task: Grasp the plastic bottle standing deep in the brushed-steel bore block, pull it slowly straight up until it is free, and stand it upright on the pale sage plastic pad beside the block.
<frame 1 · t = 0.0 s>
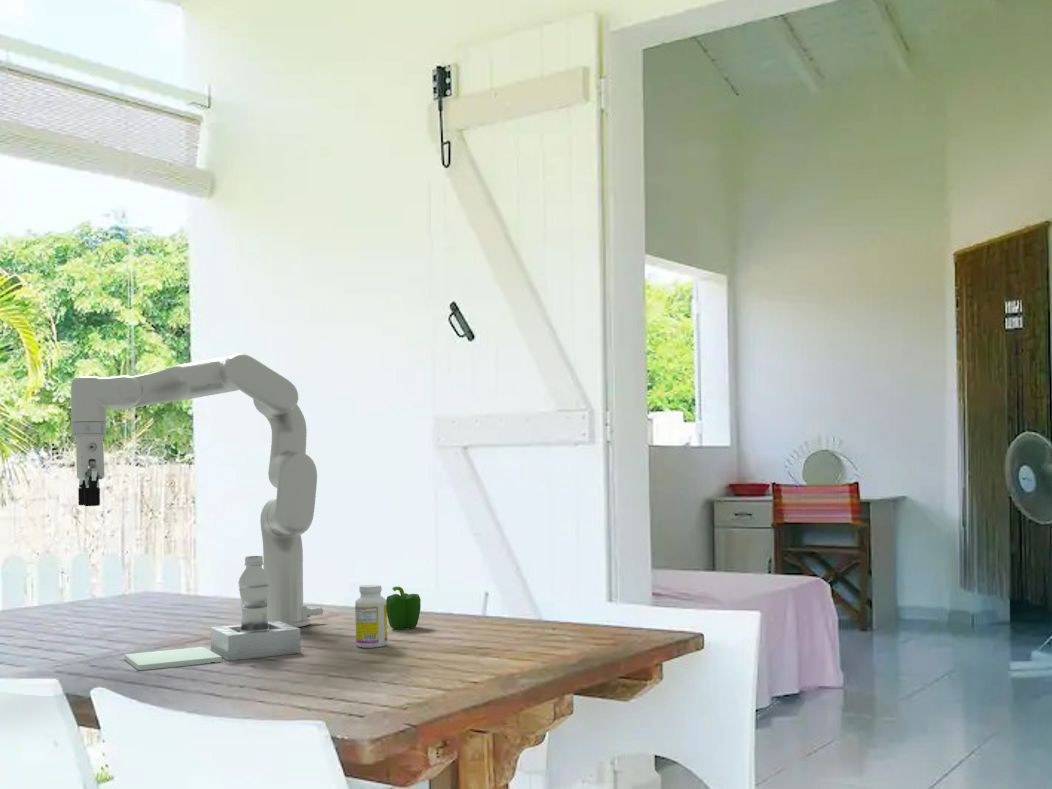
hand: (89, 505, 261), 31 cm above the table, tool pointing down, fingers open, 9 cm apart
plastic bottle: (255, 653, 241), resting in bore block
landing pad: (172, 660, 233), on the table
supplement bottle: (371, 647, 245), on the table
bore block: (255, 652, 241), on the table
bell pepper: (403, 629, 271), on the table
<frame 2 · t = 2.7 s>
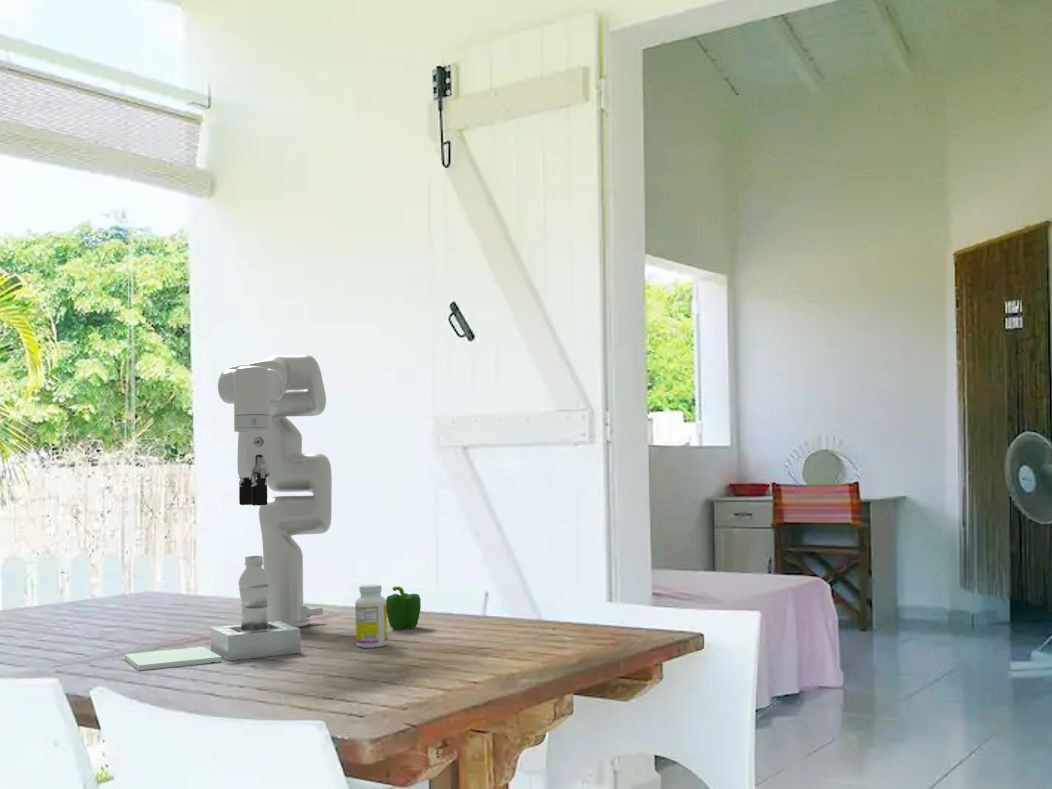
hand: (253, 505, 243), 31 cm above the table, tool pointing down, fingers open, 9 cm apart
nothing on the table moved.
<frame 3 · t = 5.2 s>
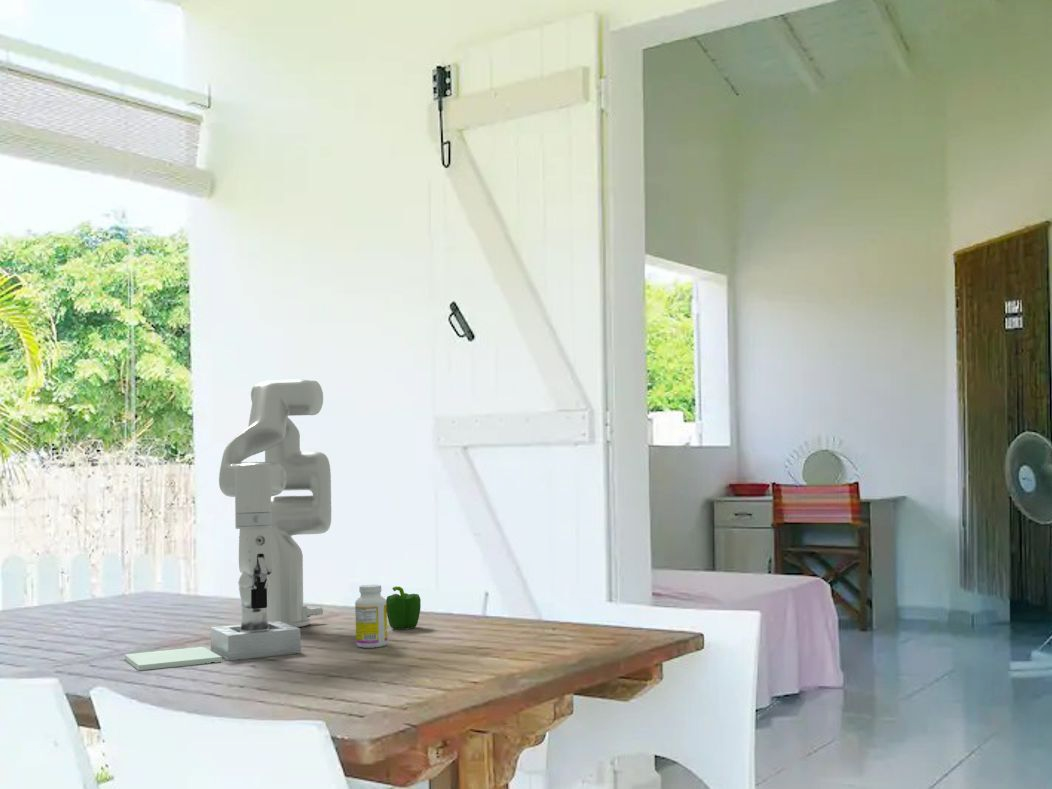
hand: (254, 605, 242), 10 cm above the table, tool pointing down, fingers closed on plastic bottle, 6 cm apart
plastic bottle: (255, 653, 241), resting in bore block, touching gripper
everything else where it was.
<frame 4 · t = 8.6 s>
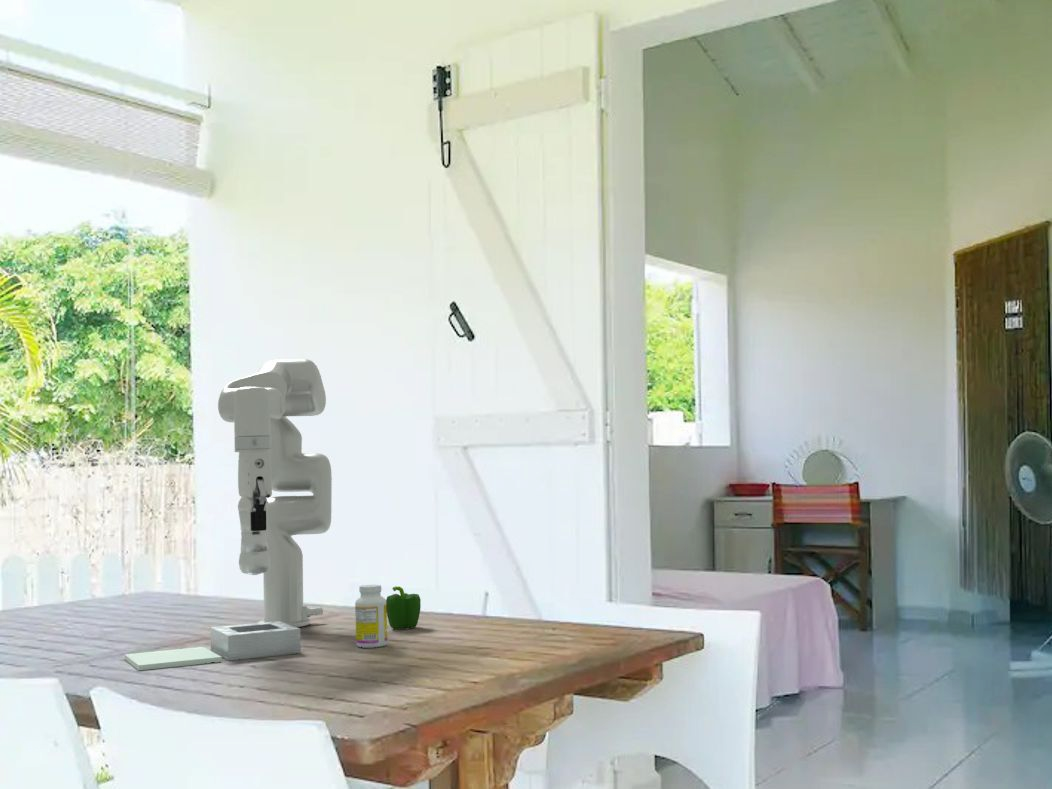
hand: (254, 528, 243), 26 cm above the table, tool pointing down, fingers closed on plastic bottle, 6 cm apart
plastic bottle: (254, 575, 243), point 16 cm above the table, touching gripper
everything else where it was.
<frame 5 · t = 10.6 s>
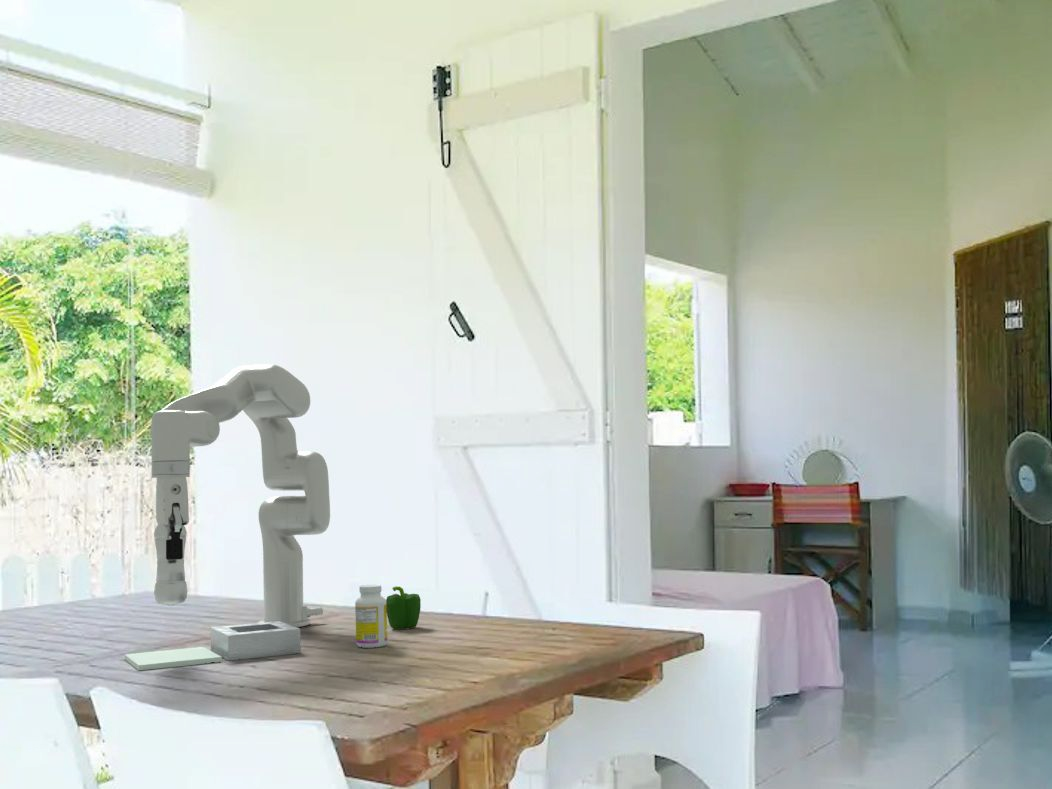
hand: (170, 557, 234), 21 cm above the table, tool pointing down, fingers closed on plastic bottle, 6 cm apart
plastic bottle: (170, 606, 233), point 11 cm above the table, touching gripper
everything else where it was.
when the fingers open (11 cm above the table, at t = 12.3 s): plastic bottle stays where it is, resting on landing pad.
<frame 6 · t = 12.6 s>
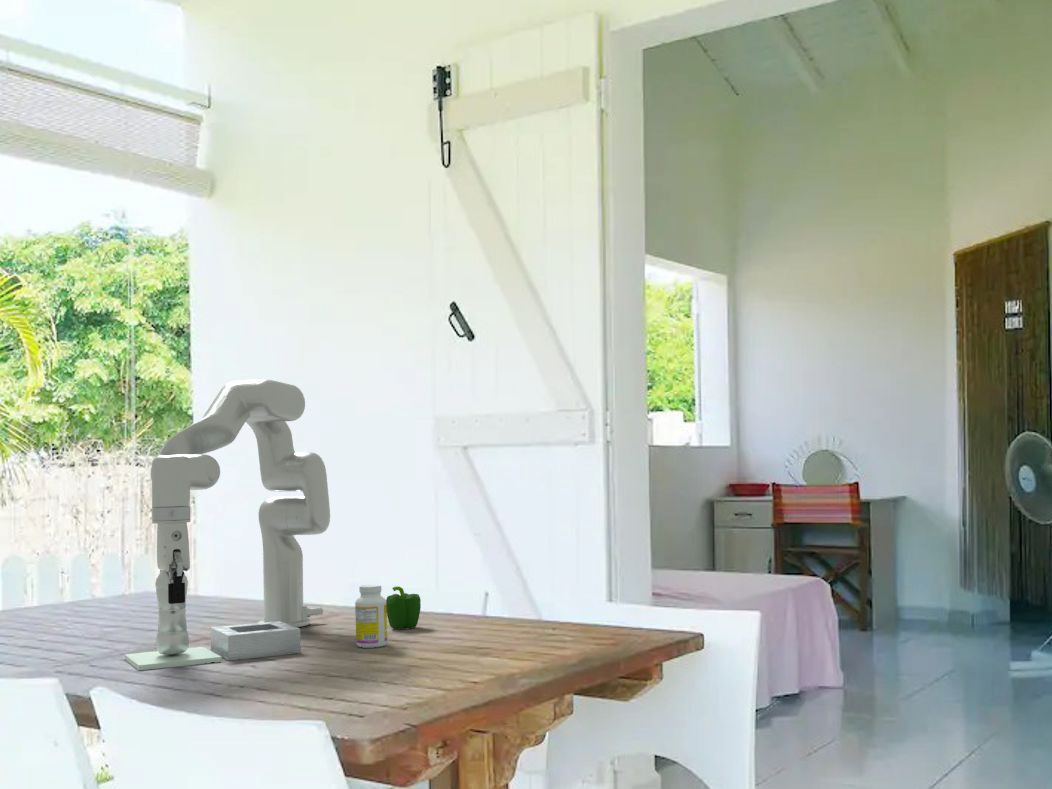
hand: (172, 600, 234), 12 cm above the table, tool pointing down, fingers open, 8 cm apart
plastic bottle: (172, 656, 234), point 1 cm above the table, touching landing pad
everything else where it was.
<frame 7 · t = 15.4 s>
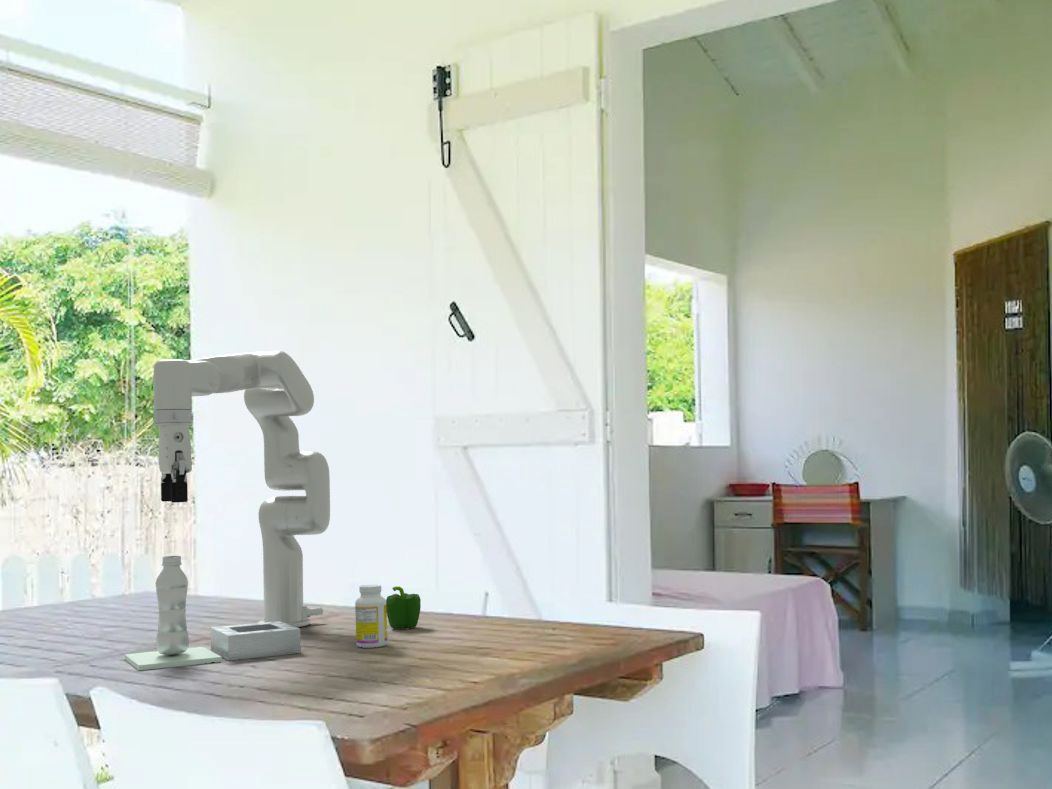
hand: (174, 501, 237), 32 cm above the table, tool pointing down, fingers open, 9 cm apart
nothing on the table moved.
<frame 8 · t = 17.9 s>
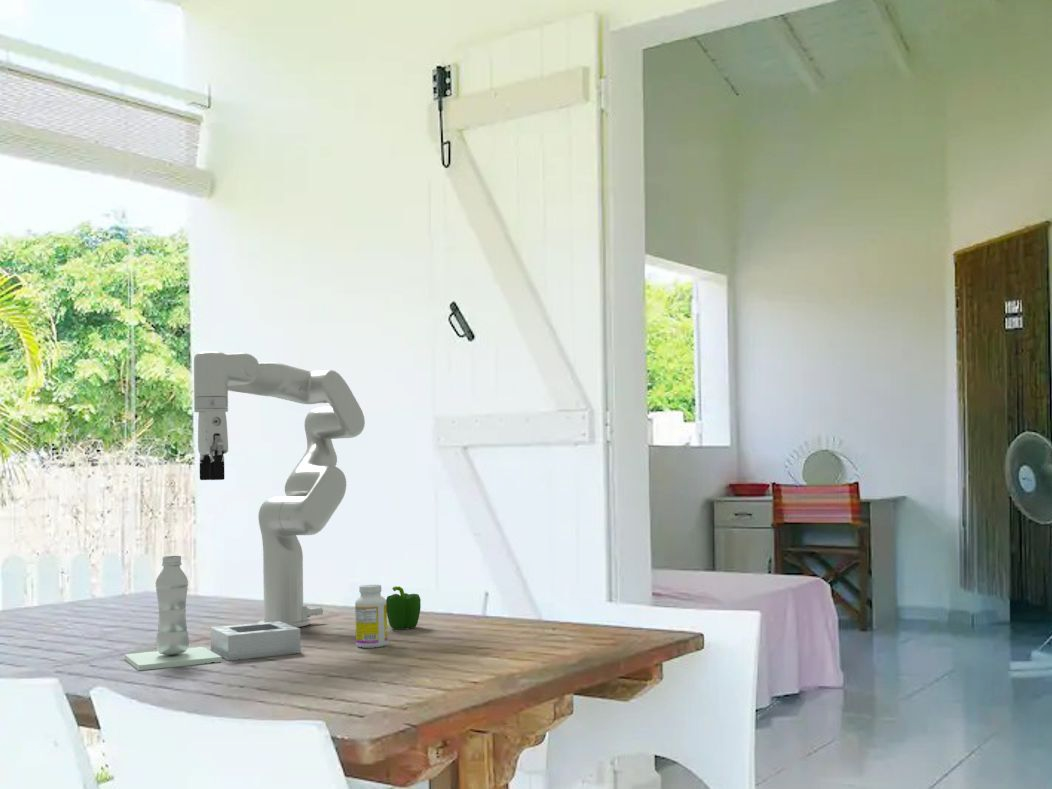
hand: (211, 479, 263), 36 cm above the table, tool pointing down, fingers open, 9 cm apart
nothing on the table moved.
at the end: plastic bottle inside the target area on the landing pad (0.6 cm from its centre), point 0.8 cm above the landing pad's base; plastic bottle tilted 0°; plastic bottle touching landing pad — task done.
